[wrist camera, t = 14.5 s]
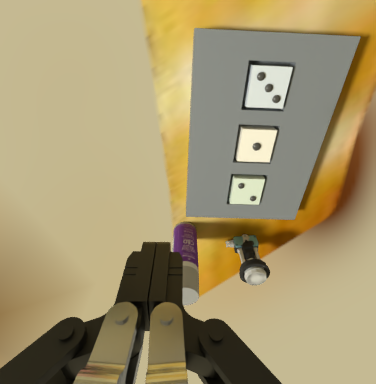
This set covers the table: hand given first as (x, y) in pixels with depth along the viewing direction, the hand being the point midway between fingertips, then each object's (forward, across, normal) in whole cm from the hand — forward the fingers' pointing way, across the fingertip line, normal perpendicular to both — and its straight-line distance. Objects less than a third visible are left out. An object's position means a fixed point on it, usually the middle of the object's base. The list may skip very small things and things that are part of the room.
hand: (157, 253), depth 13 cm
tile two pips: (+26, -12, +10) cm, 30 cm away
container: (+27, -2, +22) cm, 35 cm away
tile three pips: (+26, -12, -6) cm, 29 cm away
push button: (+27, -14, +24) cm, 39 cm away
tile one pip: (+26, -12, +2) cm, 29 cm away
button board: (+27, -12, +2) cm, 30 cm away
